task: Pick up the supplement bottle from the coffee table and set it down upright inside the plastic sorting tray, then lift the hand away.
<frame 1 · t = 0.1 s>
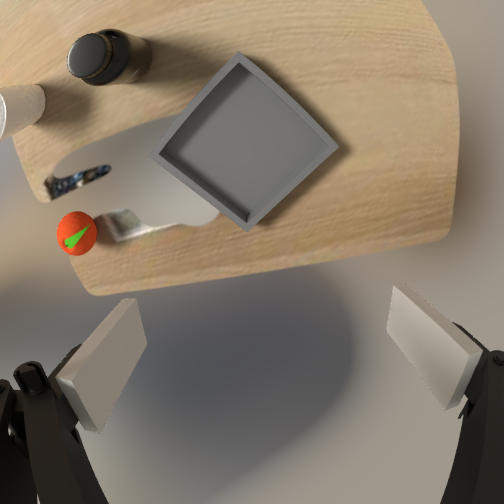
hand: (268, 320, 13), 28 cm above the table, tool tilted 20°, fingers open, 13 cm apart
clementine: (88, 220, 41), on the table
supplement bottle: (130, 60, 28), on the table
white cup: (32, 103, 28), on the table
sorting tray: (243, 141, 35), on the table
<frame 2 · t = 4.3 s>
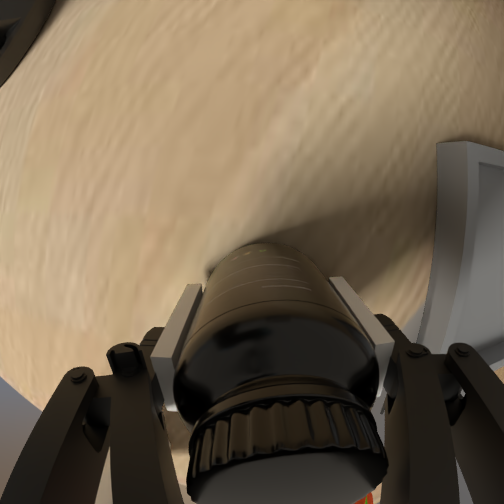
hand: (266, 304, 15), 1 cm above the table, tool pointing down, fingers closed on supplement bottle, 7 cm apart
clementine: (338, 479, 23), on the table
supplement bottle: (265, 295, 16), on the table, touching gripper
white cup: (136, 433, 20), on the table
sorting tray: (501, 265, 16), on the table
when the fingers open (3 cm above the table, at t = 10.9 s): supplement bottle drops 2 cm, resting on sorting tray.
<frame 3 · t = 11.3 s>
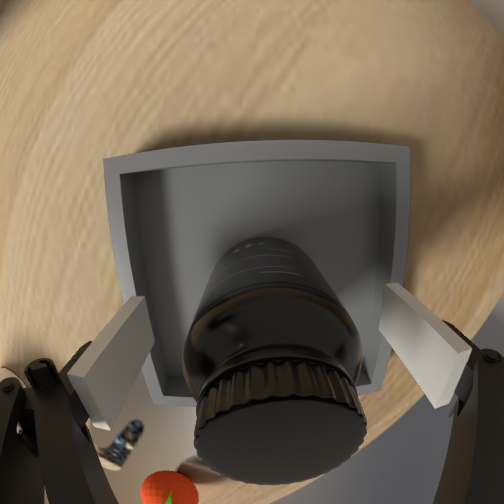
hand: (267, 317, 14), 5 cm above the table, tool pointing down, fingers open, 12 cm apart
clementine: (174, 471, 26), on the table
supplement bottle: (264, 285, 18), point 1 cm above the table, touching sorting tray
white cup: (17, 387, 23), on the table
sorting tray: (263, 280, 18), on the table
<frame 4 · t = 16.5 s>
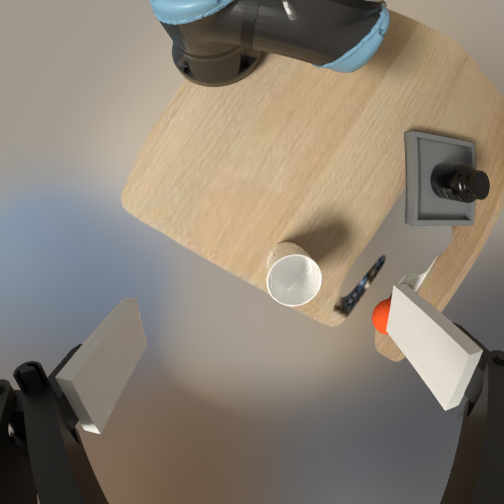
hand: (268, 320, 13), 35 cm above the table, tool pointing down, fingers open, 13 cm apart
clementine: (383, 306, 52), on the table
supplement bottle: (441, 180, 44), point 1 cm above the table, touching sorting tray
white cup: (286, 259, 49), on the table
sorting tray: (439, 180, 45), on the table
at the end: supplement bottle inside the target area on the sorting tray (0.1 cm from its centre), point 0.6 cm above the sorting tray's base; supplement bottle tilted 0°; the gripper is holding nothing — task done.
